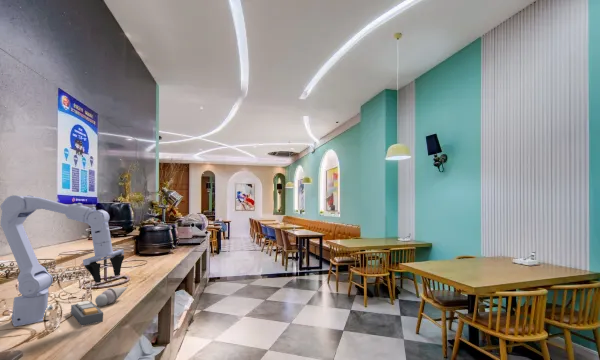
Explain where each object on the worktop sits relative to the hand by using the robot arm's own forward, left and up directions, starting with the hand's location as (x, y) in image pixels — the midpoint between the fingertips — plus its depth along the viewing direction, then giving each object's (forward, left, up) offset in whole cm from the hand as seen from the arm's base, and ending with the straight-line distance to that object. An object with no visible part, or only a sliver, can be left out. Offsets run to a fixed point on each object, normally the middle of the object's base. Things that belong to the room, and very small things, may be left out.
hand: (108, 279), depth 119 cm
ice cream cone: (+7, +17, -14) cm, 23 cm away
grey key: (-5, +4, -11) cm, 13 cm away
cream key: (-5, +9, -11) cm, 15 cm away
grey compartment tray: (-5, +4, -14) cm, 15 cm away
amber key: (-5, -1, -11) cm, 12 cm away
